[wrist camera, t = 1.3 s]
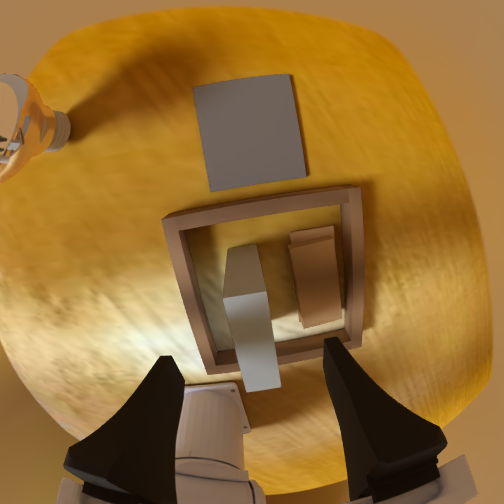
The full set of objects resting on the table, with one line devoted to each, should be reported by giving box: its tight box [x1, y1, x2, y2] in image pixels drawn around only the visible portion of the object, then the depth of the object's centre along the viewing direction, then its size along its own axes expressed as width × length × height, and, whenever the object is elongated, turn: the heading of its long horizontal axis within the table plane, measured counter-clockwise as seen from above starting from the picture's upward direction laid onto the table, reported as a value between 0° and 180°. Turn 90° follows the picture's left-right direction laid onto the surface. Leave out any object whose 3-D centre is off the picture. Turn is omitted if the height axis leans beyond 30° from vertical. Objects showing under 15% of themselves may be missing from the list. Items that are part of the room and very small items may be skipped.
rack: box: [162, 185, 364, 375], centre depth 21 cm, size 14×14×2 cm
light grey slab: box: [222, 244, 281, 392], centre depth 18 cm, size 7×2×8 cm, turn 9°
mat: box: [193, 74, 306, 192], centre depth 18 cm, size 8×7×1 cm
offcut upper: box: [288, 235, 342, 329], centre depth 22 cm, size 7×3×1 cm, turn 13°
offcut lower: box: [289, 225, 336, 322], centre depth 22 cm, size 8×4×1 cm, turn 9°
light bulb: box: [0, 73, 71, 183], centre depth 11 cm, size 7×7×12 cm
